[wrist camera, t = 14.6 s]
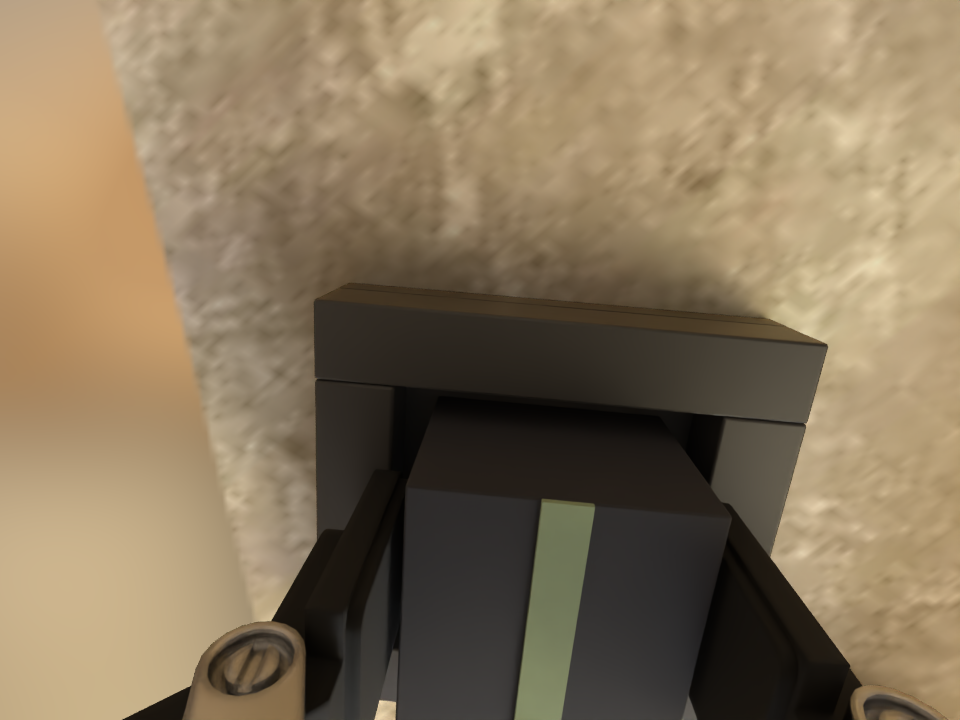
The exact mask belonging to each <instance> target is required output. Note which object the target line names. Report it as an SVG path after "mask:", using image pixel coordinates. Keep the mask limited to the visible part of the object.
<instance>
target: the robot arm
mask: <svg viewBox="0 0 960 720" xmlns="http://www.w3.org/2000/svg"><path fill="white" fill-rule="evenodd" d="M407 481H408V479H403V473H402V472H401V471H391V470H381V469H375V471H374V472H373V474H372V476H371V478H370V480H369V482H368V484H367V486H366V488H365V490H364V492H363V494H362V496H361V498H360V500H359V502H358V504H357V506H356V508H355V510H354V512H353V514H352V516H351V518H350V520H349V522H348V524H347V525H346V527H345V529H344V530H337V529H325V530H324V531H323V532H322V534H321V535H320V537H319V539H318V540H317V542H316V544H315V546H314V547H313V549H312V551H311V553H310V554H309V556H308V558H307V560H306V561H305V563H304V565H303V567H302V568H301V570H300V572H299V573H298V575H297V577H296V579H295V580H294V582H293V584H292V586H291V587H290V589H289V591H288V593H287V594H286V596H285V598H284V600H283V601H282V603H281V605H280V607H279V608H278V610H277V612H276V614H275V615H274V617H273V619H272V621H266V622H255V623H251V624H247V625H243V626H240V627H238V628H236V629H234V630H232V631H230V632H227V633H226V634H224V635H223V636H221V637H220V638H219V639H217V640H216V641H215V642H213V643H212V644H211V645H210V647H209V648H208V649H207V650H206V651H205V652H204V654H203V655H202V656H201V658H200V661H199V663H198V665H197V667H196V669H195V673H194V677H193V681H192V685H191V686H190V687H188V688H186V689H183V690H181V691H179V692H177V693H175V694H173V695H171V696H169V697H167V698H165V699H163V700H161V701H159V702H157V703H155V704H153V705H151V706H149V707H147V708H145V709H143V710H141V711H139V712H137V713H135V714H133V715H131V716H129V717H127V718H125V719H123V720H374V719H375V715H376V711H377V707H378V703H379V700H380V696H381V692H382V688H383V684H384V681H385V677H386V673H387V669H388V665H389V661H390V658H391V654H392V650H393V646H394V642H395V639H396V635H397V631H398V627H399V623H400V605H401V582H402V558H403V534H404V511H405V487H406V484H407ZM722 504H723V505H724V506H725V508H726V509H727V511H728V512H729V513H730V515H731V517H732V520H731V524H730V528H729V532H728V537H727V541H726V545H725V549H724V553H723V557H722V561H721V565H720V569H719V573H718V577H717V581H716V585H715V589H714V593H713V597H712V601H711V605H710V609H709V614H708V618H707V622H706V626H705V630H704V634H703V638H702V642H701V646H700V650H699V654H698V658H697V662H696V666H695V670H694V674H693V678H692V682H691V686H690V691H689V698H690V701H691V704H692V706H693V709H694V712H695V715H696V717H697V720H948V719H947V718H946V717H944V716H943V715H942V714H940V713H939V712H938V711H937V710H935V709H934V708H932V707H931V706H929V705H927V704H925V703H924V702H922V701H920V700H919V699H917V698H915V697H913V696H911V695H908V694H906V693H903V692H901V691H899V690H896V689H893V688H888V687H884V686H880V685H864V686H862V684H861V683H860V682H859V680H858V679H857V678H856V676H855V675H854V673H853V672H852V671H851V669H850V665H849V663H848V662H847V661H846V659H845V658H844V657H843V655H842V654H841V653H840V651H839V650H838V648H837V647H836V646H835V644H834V643H833V642H832V640H831V639H830V638H829V636H828V635H827V634H826V632H825V631H824V630H823V628H822V627H821V626H820V624H819V623H818V622H817V620H816V619H815V617H814V616H813V615H812V613H811V612H810V611H809V609H808V608H807V607H806V605H805V604H804V603H803V601H802V600H801V599H800V597H799V596H798V595H797V593H796V592H795V591H794V589H793V588H792V586H791V585H790V584H789V582H788V581H787V580H786V578H785V577H784V576H783V574H782V573H781V572H780V570H779V569H778V568H777V566H776V565H775V564H774V562H773V561H772V560H771V558H770V557H769V555H768V554H767V553H766V551H765V550H764V549H763V547H762V546H761V545H760V543H759V542H758V541H757V539H756V538H755V537H754V535H753V534H752V533H751V531H750V530H749V529H748V527H747V526H746V524H745V523H744V522H743V520H742V519H741V518H740V516H739V515H738V514H737V512H736V511H735V510H734V508H733V507H732V506H731V505H730V504H729V503H722Z"/></svg>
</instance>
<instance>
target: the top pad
mask: <svg viewBox="0 0 960 720" xmlns="http://www.w3.org/2000/svg"><path fill="white" fill-rule="evenodd" d="M731 520H732V517H731V515H730V513H729V512H728V511H727V509H726V508H725V506H724V505H723V504H722V502H721V501H720V499H719V498H718V497H717V495H716V494H715V493H714V491H713V490H712V488H711V487H710V486H709V484H708V483H707V481H706V480H705V479H704V477H703V476H702V474H701V473H700V472H699V470H698V469H697V468H696V466H695V465H694V463H693V462H692V461H691V459H690V458H689V456H688V455H687V454H686V452H685V451H684V449H683V448H682V447H681V445H680V444H679V442H678V441H677V440H676V438H675V437H674V436H673V434H672V433H671V431H670V430H669V429H668V427H667V426H666V424H665V423H664V422H663V420H662V419H661V417H659V416H650V415H640V414H629V413H618V412H607V411H596V410H585V409H575V408H564V407H553V406H542V405H531V404H520V403H510V402H499V401H488V400H477V399H466V398H455V397H445V396H439V397H438V400H437V402H436V405H435V408H434V411H433V413H432V416H431V419H430V421H429V424H428V427H427V429H426V432H425V435H424V438H423V440H422V443H421V446H420V448H419V451H418V454H417V457H416V459H415V462H414V465H413V467H412V470H411V473H410V476H409V478H408V481H407V484H406V487H405V511H404V534H403V558H402V582H401V605H400V629H399V652H398V676H397V699H396V720H682V719H683V715H684V711H685V707H686V703H687V699H688V695H689V691H690V686H691V682H692V678H693V674H694V670H695V666H696V662H697V658H698V654H699V650H700V646H701V642H702V638H703V634H704V630H705V626H706V622H707V618H708V614H709V609H710V605H711V601H712V597H713V593H714V589H715V585H716V581H717V577H718V573H719V569H720V565H721V561H722V557H723V553H724V549H725V545H726V541H727V537H728V532H729V528H730V524H731Z"/></svg>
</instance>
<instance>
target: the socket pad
mask: <svg viewBox="0 0 960 720" xmlns="http://www.w3.org/2000/svg"><path fill="white" fill-rule="evenodd" d="M827 349H828V345H827V344H825V343H823V342H821V341H818V340H816V339H814V338H811V337H809V336H807V335H804V334H802V333H800V332H798V331H795V330H793V329H791V328H788V327H786V326H784V325H782V324H780V323H777V322H775V321H773V320H770V319H763V318H752V317H740V316H729V315H717V314H706V313H694V312H682V311H671V310H659V309H648V308H636V307H625V306H613V305H601V304H590V303H578V302H567V301H555V300H544V299H532V298H520V297H509V296H497V295H486V294H474V293H463V292H451V291H439V290H428V289H416V288H405V287H393V286H382V285H370V284H358V283H348V284H346V285H344V286H342V287H340V288H339V289H336V290H334V291H332V292H330V293H328V294H326V295H324V296H322V297H319V298H317V299H315V301H314V353H315V378H317V380H316V382H315V406H316V491H317V540H318V539H319V537H320V535H321V534H322V532H323V531H324V530H325V529H337V530H344V529H345V527H346V525H347V524H348V522H349V520H350V518H351V516H352V514H353V512H354V510H355V508H356V506H357V504H358V502H359V500H360V498H361V496H362V494H363V492H364V490H365V488H366V486H367V484H368V482H369V480H370V478H371V476H372V474H373V472H374V471H375V469H381V470H391V471H401V472H402V473H403V479H408V478H409V476H410V473H411V470H412V467H413V465H414V462H415V459H416V457H417V454H418V451H419V448H420V446H421V443H422V440H423V438H424V435H425V432H426V429H427V427H428V424H429V421H430V419H431V416H432V413H433V411H434V408H435V405H436V402H437V400H438V397H439V396H445V397H455V398H466V399H477V400H488V401H499V402H510V403H520V404H531V405H542V406H553V407H564V408H575V409H585V410H596V411H607V412H618V413H629V414H640V415H650V416H659V417H661V419H662V420H663V422H664V423H665V424H666V426H667V427H668V429H669V430H670V431H671V433H672V434H673V436H674V437H675V438H676V440H677V441H678V442H679V444H680V445H681V447H682V448H683V449H684V451H685V452H686V454H687V455H688V456H689V458H690V459H691V461H692V462H693V463H694V465H695V466H696V468H697V469H698V470H699V472H700V473H701V474H702V476H703V477H704V479H705V480H706V481H707V483H708V484H709V486H710V487H711V488H712V490H713V491H714V493H715V494H716V495H717V497H718V498H719V499H720V501H721V502H722V503H729V504H730V505H731V506H732V507H733V508H734V510H735V511H736V512H737V514H738V515H739V516H740V518H741V519H742V520H743V522H744V523H745V524H746V526H747V527H748V529H749V530H750V531H751V533H752V534H753V535H754V537H755V538H756V539H757V541H758V542H759V543H760V545H761V546H762V547H763V549H764V550H765V551H766V553H767V554H768V555H769V557H770V556H771V552H772V548H773V545H774V541H775V538H776V534H777V530H778V527H779V523H780V520H781V516H782V512H783V509H784V505H785V501H786V498H787V494H788V491H789V487H790V483H791V480H792V476H793V473H794V469H795V465H796V462H797V458H798V454H799V451H800V447H801V444H802V440H803V436H804V433H805V429H806V425H805V424H804V423H807V421H808V418H809V414H810V411H811V407H812V403H813V400H814V396H815V393H816V389H817V385H818V382H819V378H820V374H821V371H822V367H823V364H824V360H825V356H826V353H827ZM399 629H400V623H399V627H398V631H397V635H396V639H395V642H394V646H393V650H392V654H391V658H390V661H389V665H388V669H387V673H386V677H385V681H384V684H383V688H382V692H381V696H380V700H383V701H393V702H396V699H397V676H398V652H399ZM682 720H697V717H696V715H695V712H694V709H693V706H692V704H691V701H690V698H689V695H688V699H687V703H686V707H685V711H684V715H683V719H682Z"/></svg>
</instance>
